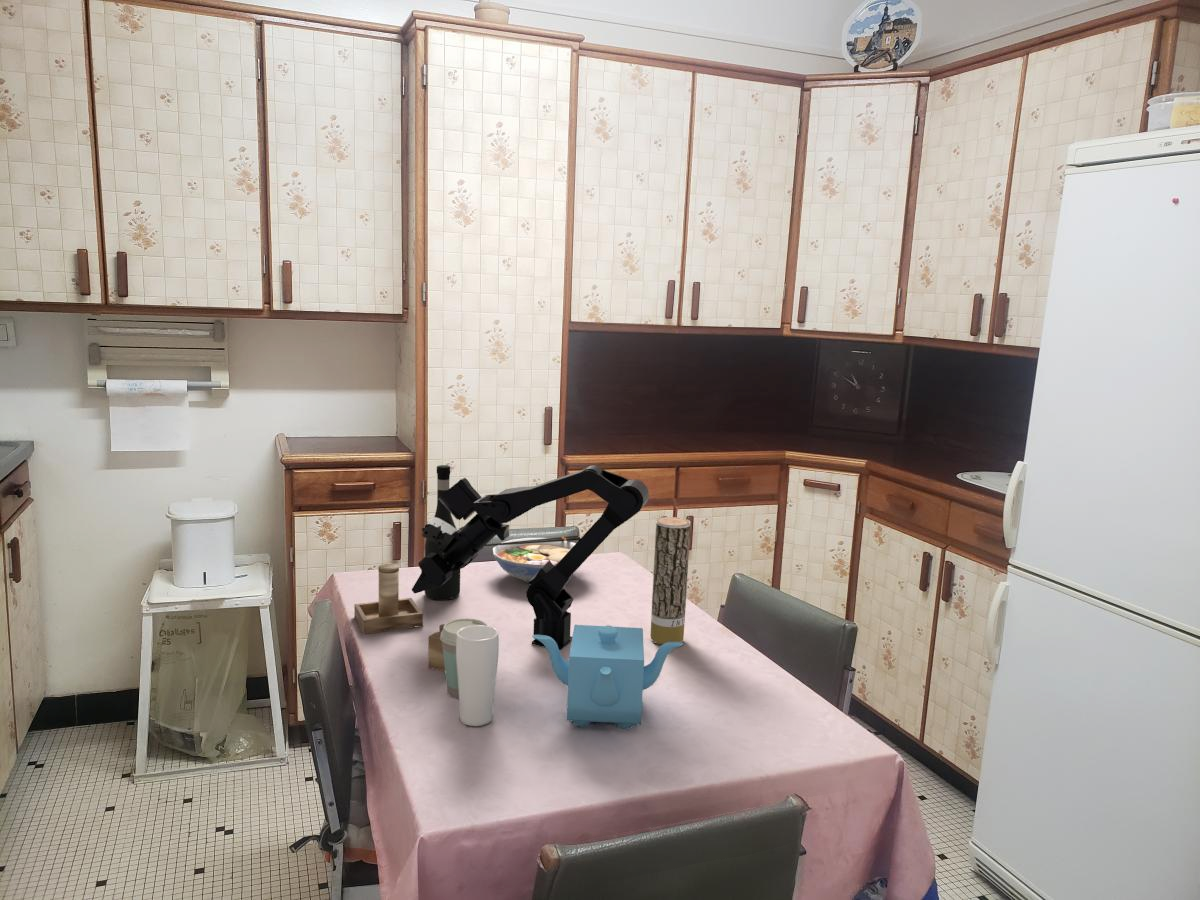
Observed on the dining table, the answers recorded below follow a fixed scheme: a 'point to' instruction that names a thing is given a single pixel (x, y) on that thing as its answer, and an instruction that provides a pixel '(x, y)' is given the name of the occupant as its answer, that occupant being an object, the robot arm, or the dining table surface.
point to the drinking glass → (476, 672)
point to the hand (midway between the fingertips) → (422, 584)
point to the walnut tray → (373, 623)
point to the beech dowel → (388, 589)
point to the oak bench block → (436, 651)
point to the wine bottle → (453, 584)
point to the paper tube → (670, 579)
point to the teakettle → (606, 673)
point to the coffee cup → (453, 651)
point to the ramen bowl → (531, 554)
